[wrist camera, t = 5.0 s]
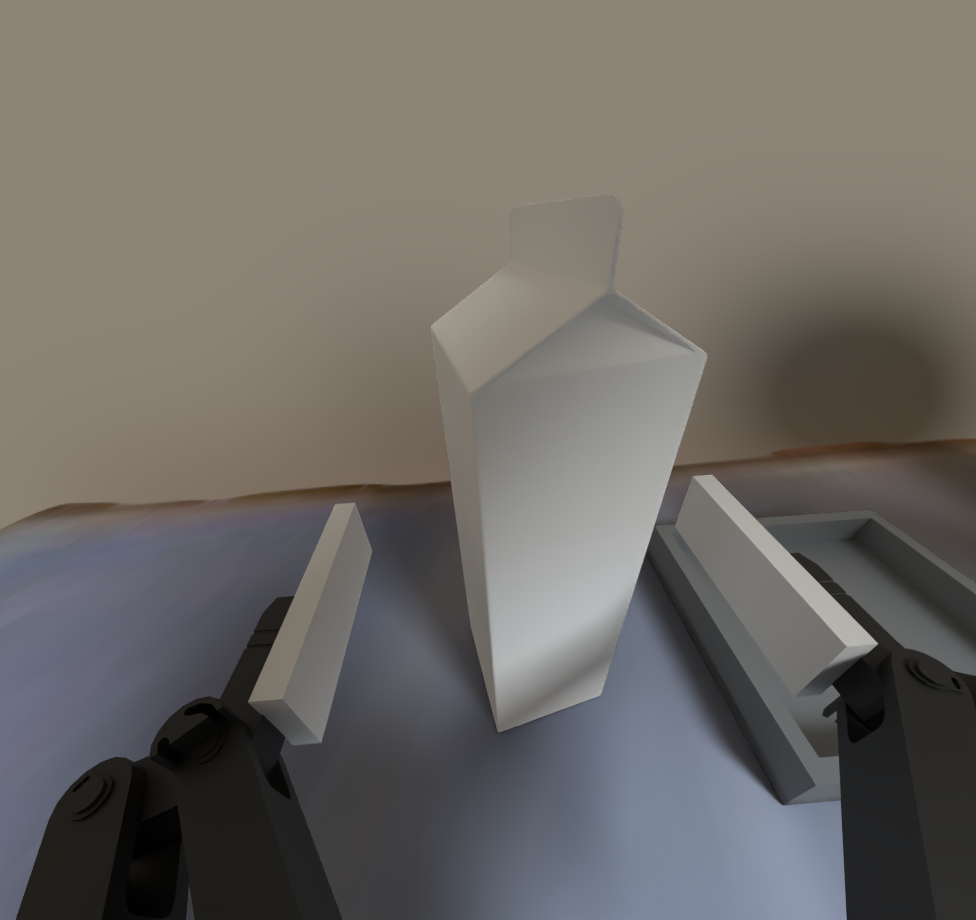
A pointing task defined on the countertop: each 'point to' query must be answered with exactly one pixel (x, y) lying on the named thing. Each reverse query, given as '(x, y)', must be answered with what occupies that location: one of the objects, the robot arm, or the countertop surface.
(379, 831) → the countertop surface
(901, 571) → the tray
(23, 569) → the countertop surface
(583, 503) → the milk
